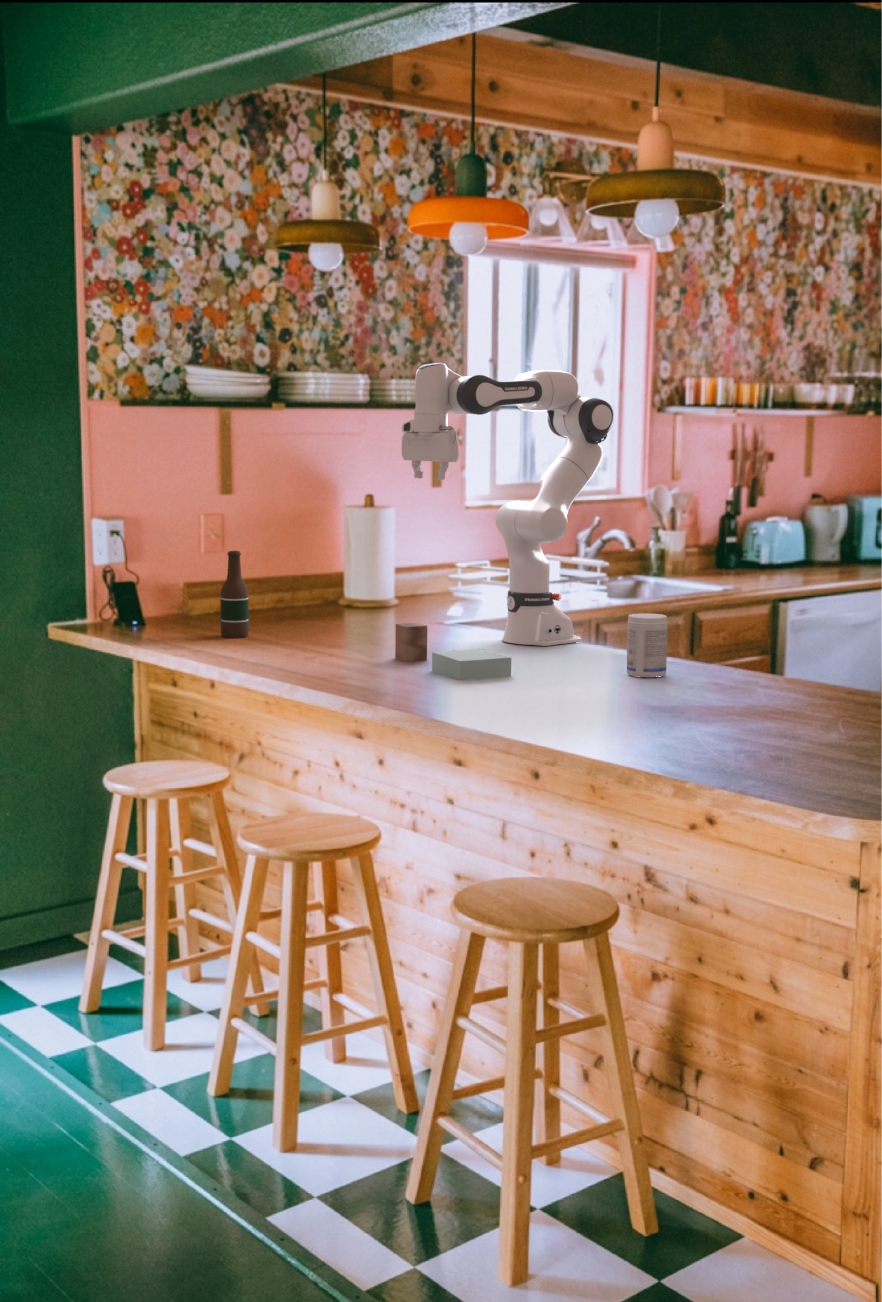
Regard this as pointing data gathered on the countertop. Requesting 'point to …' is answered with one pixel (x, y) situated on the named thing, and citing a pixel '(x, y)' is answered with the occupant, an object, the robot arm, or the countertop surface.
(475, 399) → the robot arm
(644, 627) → the supplement tub
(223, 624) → the beer bottle
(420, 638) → the walnut box
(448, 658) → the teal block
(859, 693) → the countertop surface
